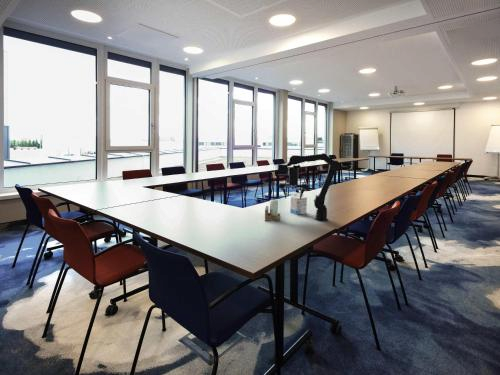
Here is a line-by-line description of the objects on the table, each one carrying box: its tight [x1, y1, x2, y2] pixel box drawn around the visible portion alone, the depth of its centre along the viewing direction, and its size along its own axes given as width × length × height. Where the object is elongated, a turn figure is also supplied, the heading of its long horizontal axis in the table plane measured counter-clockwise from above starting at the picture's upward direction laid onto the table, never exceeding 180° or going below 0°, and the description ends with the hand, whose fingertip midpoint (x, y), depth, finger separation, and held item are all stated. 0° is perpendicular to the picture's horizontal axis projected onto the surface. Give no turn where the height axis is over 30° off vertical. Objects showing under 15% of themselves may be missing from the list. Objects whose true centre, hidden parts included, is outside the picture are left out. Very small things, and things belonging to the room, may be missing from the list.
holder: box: [264, 205, 281, 222], centre depth 200 cm, size 10×13×7 cm
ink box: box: [289, 193, 308, 215], centre depth 216 cm, size 9×8×13 cm
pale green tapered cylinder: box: [269, 199, 279, 216], centre depth 200 cm, size 5×5×12 cm
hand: (293, 199), depth 199 cm, fingers open, 9 cm apart
